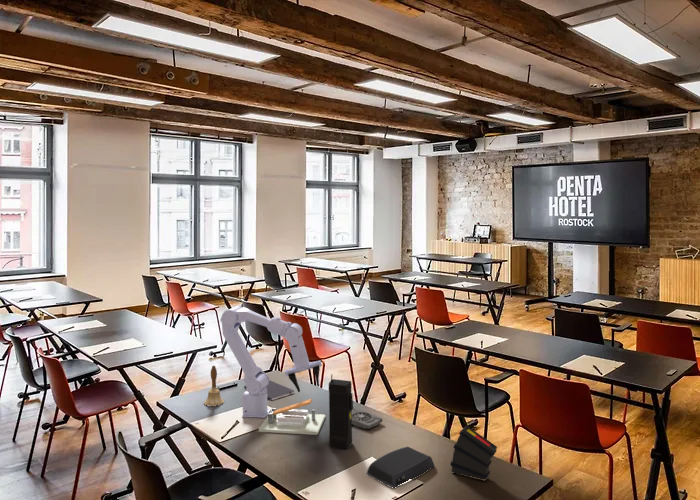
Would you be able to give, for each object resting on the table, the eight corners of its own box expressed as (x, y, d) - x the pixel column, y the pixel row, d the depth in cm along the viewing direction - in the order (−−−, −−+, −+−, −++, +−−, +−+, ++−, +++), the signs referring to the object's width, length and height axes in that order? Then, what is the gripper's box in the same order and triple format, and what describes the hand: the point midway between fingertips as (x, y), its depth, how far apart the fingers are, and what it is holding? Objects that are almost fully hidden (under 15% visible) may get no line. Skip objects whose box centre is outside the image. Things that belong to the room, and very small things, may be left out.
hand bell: (226, 399, 227) (225, 362, 226) (221, 406, 219) (220, 369, 217) (206, 399, 227) (205, 363, 226) (201, 406, 219) (200, 369, 217)
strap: (270, 417, 201) (268, 413, 201) (272, 414, 204) (271, 410, 204) (310, 404, 198) (309, 401, 198) (312, 401, 201) (311, 398, 201)
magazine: (445, 461, 169) (465, 424, 164) (481, 488, 163) (504, 450, 159) (441, 466, 166) (461, 428, 161) (478, 493, 160) (500, 456, 156)
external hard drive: (364, 474, 165) (364, 462, 164) (405, 454, 178) (405, 442, 177) (395, 491, 155) (395, 478, 155) (436, 468, 168) (436, 456, 168)
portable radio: (355, 443, 185) (355, 373, 183) (349, 450, 180) (349, 378, 177) (334, 439, 188) (334, 371, 186) (328, 447, 182) (327, 376, 180)
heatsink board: (258, 431, 195) (258, 418, 194) (270, 414, 211) (270, 402, 210) (317, 434, 192) (317, 421, 192) (325, 417, 208) (325, 404, 207)
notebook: (244, 389, 241) (271, 401, 225) (244, 385, 241) (271, 398, 225) (267, 382, 249) (295, 394, 234) (267, 379, 249) (295, 390, 234)
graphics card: (331, 414, 203) (351, 404, 212) (331, 423, 204) (352, 413, 213) (364, 426, 192) (385, 416, 201) (364, 436, 193) (385, 425, 201)
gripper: (281, 362, 201) (290, 396, 201) (318, 351, 202) (327, 386, 202) (281, 358, 208) (290, 391, 208) (317, 348, 209) (326, 381, 210)
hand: (308, 388), depth 206 cm, fingers open, 7 cm apart
